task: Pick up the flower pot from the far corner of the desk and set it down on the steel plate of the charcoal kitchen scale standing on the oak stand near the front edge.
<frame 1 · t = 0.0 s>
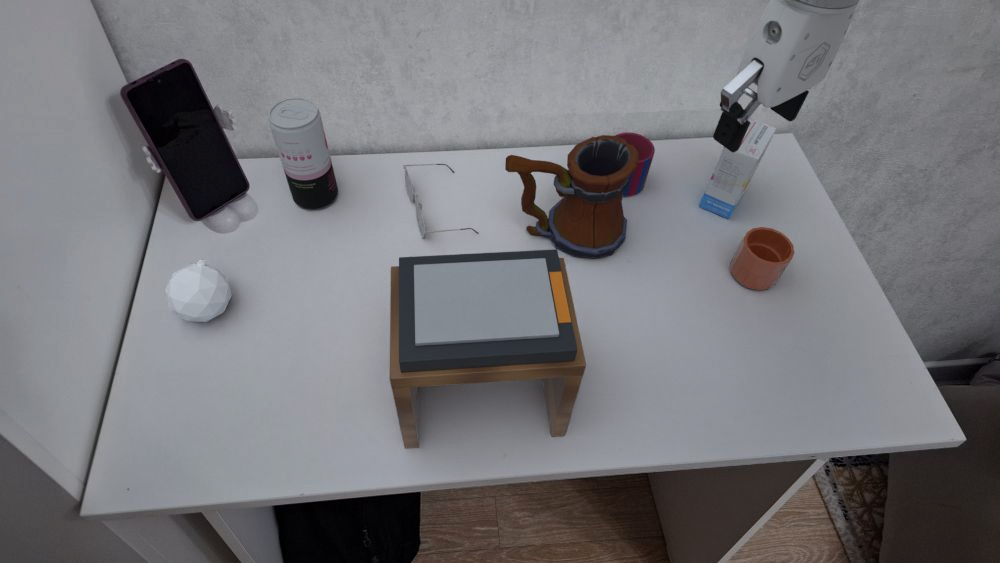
hand: (753, 129, 70), 22 cm above the table, tool pointing down, fingers open, 9 cm apart
beverage can: (316, 196, 91), on the table
cup: (612, 182, 96), on the table
ornament: (209, 309, 78), on the table
eyeglasses: (440, 207, 91), on the table
stand: (481, 390, 73), on the table
scale: (483, 313, 60), resting on stand
mug: (563, 233, 89), on the table
ink box: (722, 198, 94), on the table
flower pot: (752, 273, 85), on the table
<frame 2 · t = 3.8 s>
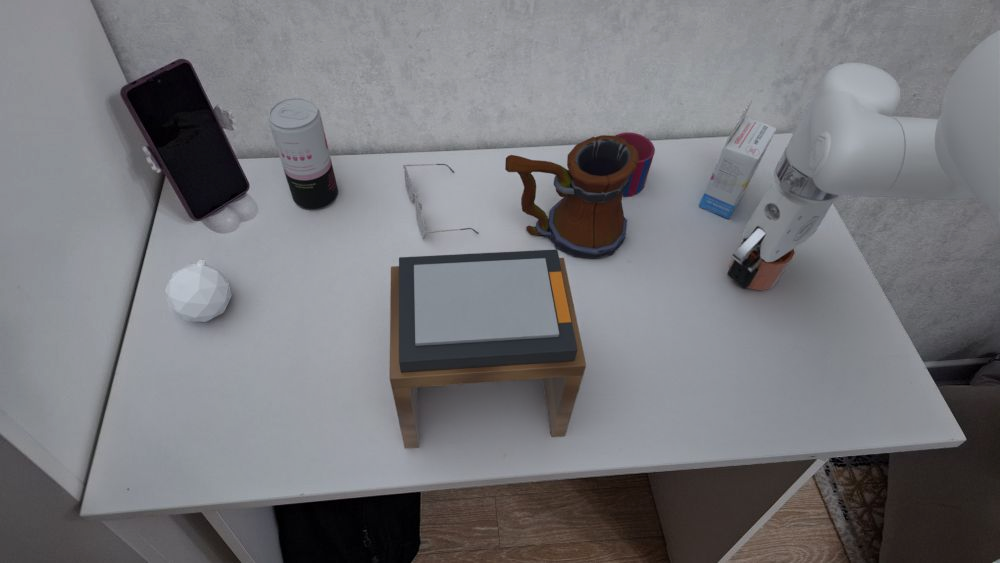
hand: (755, 268, 84), 1 cm above the table, tool pointing down, fingers closed on flower pot, 6 cm apart
flower pot: (752, 273, 85), on the table, touching gripper
everything else where it was.
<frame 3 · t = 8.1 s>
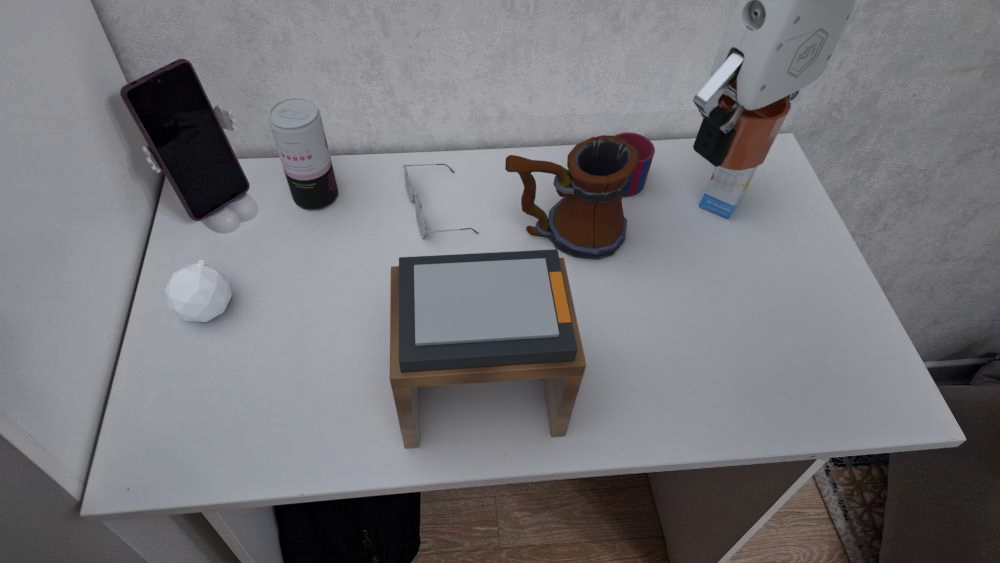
hand: (734, 142, 58), 28 cm above the table, tool pointing down, fingers closed on flower pot, 6 cm apart
flower pot: (730, 150, 59), point 27 cm above the table, touching gripper
everything else where it was.
when the fingers open (20 cm above the table, at t = 12.6 s): flower pot stays where it is, resting on scale.
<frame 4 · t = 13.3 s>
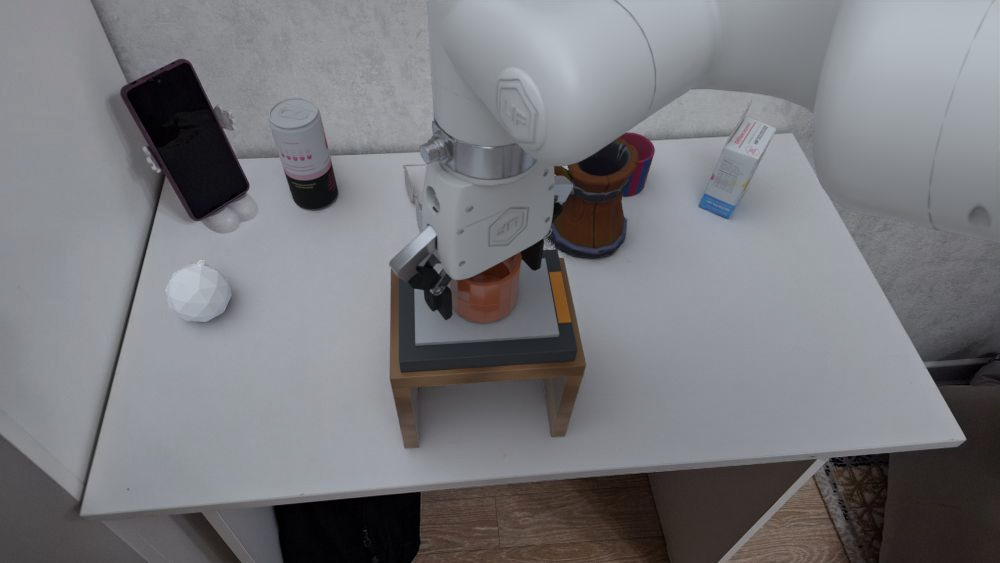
hand: (484, 283, 56), 21 cm above the table, tool pointing down, fingers open, 9 cm apart
flower pot: (483, 297, 58), point 18 cm above the table, touching scale
everything else where it was.
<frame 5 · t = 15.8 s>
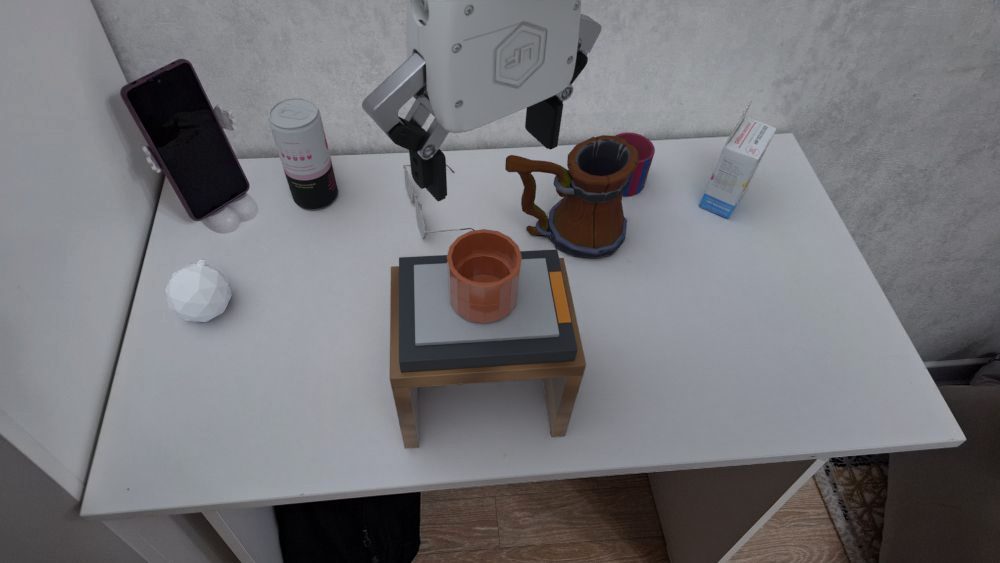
hand: (488, 162, 45), 35 cm above the table, tool pointing down, fingers open, 9 cm apart
nothing on the table moved.
at the end: flower pot 0.1 cm off-centre on the scale, point 2.5 cm above the scale's base; flower pot tilted 0°; the gripper is holding nothing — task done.
